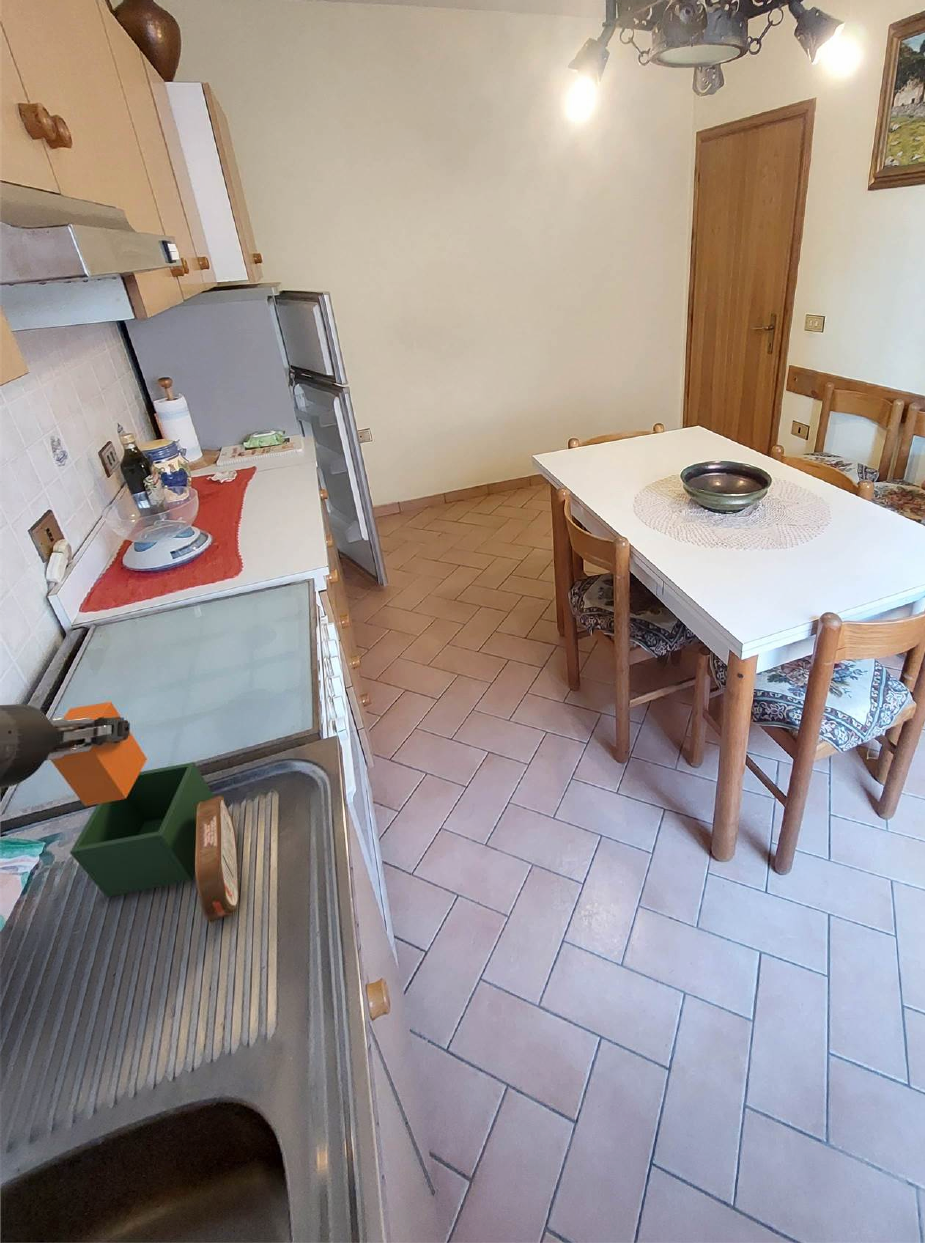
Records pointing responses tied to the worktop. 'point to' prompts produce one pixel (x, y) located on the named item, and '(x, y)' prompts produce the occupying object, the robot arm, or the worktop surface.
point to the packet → (101, 762)
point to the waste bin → (145, 833)
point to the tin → (216, 859)
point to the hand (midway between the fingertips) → (102, 734)
